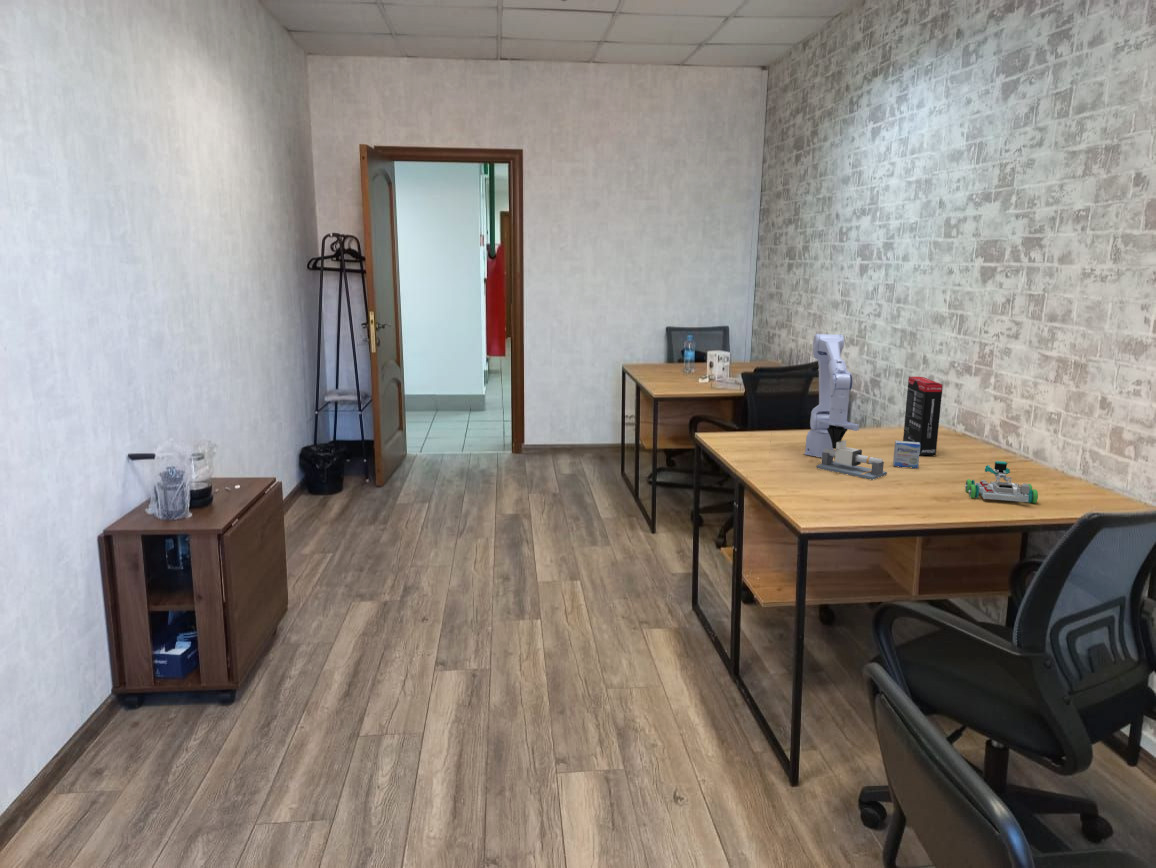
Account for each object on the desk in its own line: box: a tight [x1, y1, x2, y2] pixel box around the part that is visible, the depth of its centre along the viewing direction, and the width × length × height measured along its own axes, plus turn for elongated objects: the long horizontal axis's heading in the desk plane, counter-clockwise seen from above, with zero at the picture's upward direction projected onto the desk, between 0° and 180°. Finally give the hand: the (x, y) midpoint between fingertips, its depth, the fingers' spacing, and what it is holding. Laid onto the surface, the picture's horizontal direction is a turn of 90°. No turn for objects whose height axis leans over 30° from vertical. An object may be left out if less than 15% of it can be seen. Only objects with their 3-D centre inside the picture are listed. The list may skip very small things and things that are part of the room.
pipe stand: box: [816, 448, 888, 481], centre depth 266 cm, size 20×10×6 cm, turn 43°
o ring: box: [852, 449, 863, 467], centre depth 264 cm, size 1×5×5 cm, turn 133°
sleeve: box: [834, 439, 860, 466], centre depth 267 cm, size 6×5×7 cm
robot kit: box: [964, 460, 1039, 505], centre depth 243 cm, size 19×25×9 cm
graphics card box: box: [902, 376, 944, 455], centre depth 294 cm, size 17×7×27 cm, turn 179°
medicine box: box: [892, 440, 921, 469], centre depth 274 cm, size 8×4×9 cm, turn 73°
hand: (835, 448), depth 270 cm, fingers closed
